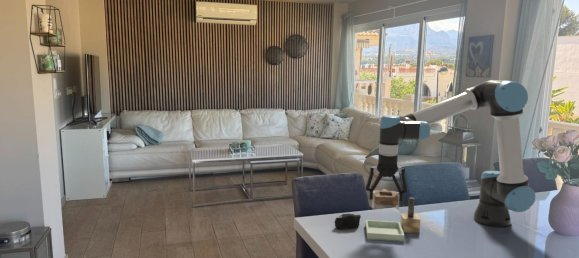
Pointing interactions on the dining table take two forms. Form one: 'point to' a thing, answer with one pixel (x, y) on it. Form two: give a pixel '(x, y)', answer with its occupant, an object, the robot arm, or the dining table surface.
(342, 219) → the mineral
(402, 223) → the block with upright handle
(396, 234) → the tray
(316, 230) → the dining table surface
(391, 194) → the ring
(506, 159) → the robot arm
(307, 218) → the dining table surface
